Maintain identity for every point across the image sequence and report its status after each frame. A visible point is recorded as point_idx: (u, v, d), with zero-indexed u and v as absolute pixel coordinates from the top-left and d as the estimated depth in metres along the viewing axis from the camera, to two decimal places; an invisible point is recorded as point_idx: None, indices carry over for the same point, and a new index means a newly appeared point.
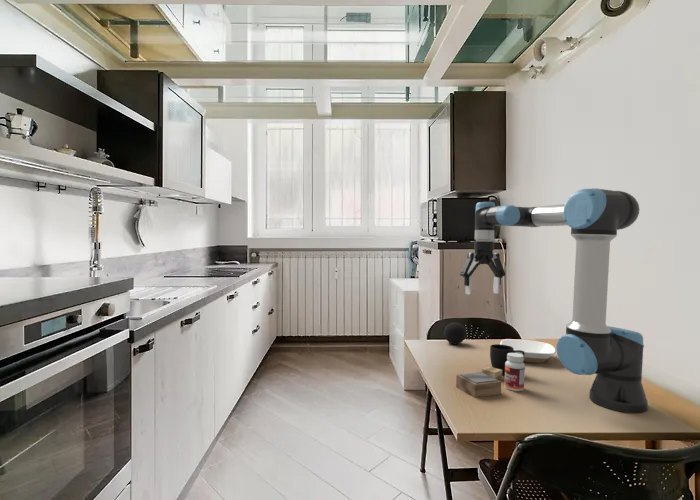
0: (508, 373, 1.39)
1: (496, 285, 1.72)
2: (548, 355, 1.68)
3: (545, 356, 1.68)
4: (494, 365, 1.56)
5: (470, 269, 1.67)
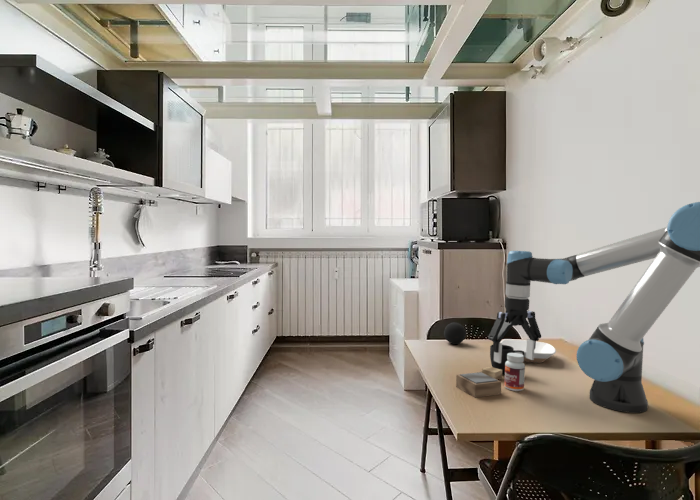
0: (508, 373, 1.39)
1: (530, 349, 1.43)
2: (548, 355, 1.68)
3: (545, 356, 1.68)
4: (494, 365, 1.56)
5: (500, 332, 1.38)
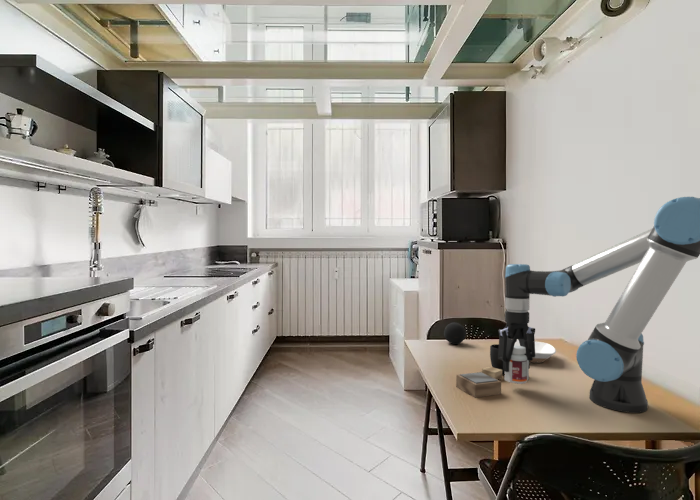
0: None
1: None
2: (548, 355, 1.68)
3: (545, 356, 1.68)
4: (494, 365, 1.56)
5: (507, 350, 1.39)
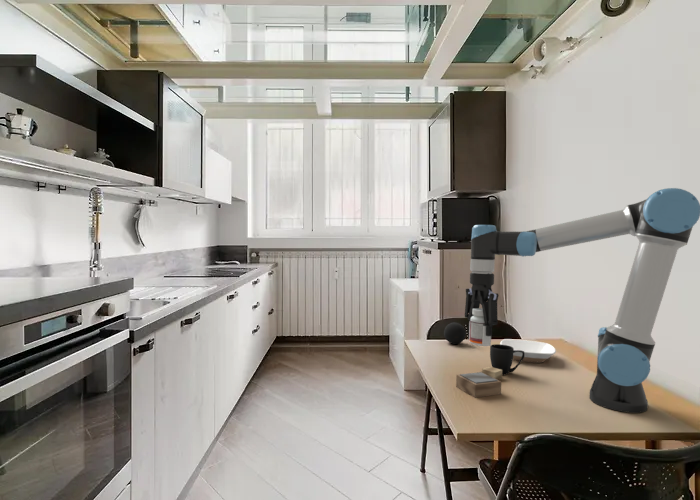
0: None
1: None
2: (548, 355, 1.68)
3: (545, 356, 1.68)
4: (494, 365, 1.56)
5: None
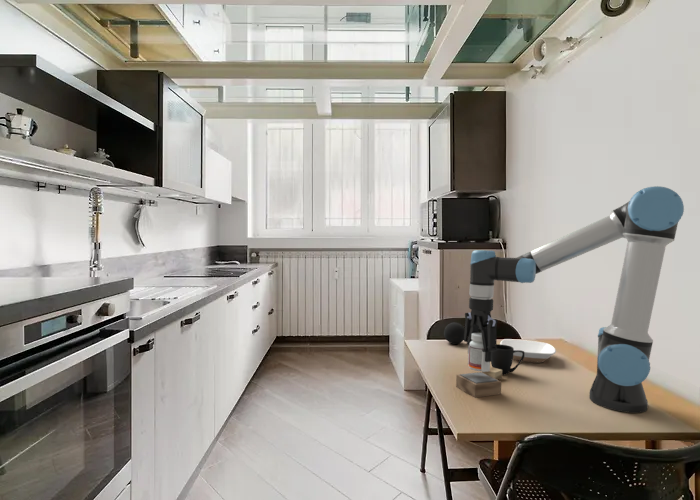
0: None
1: None
2: (548, 355, 1.68)
3: (545, 356, 1.68)
4: (494, 365, 1.56)
5: None
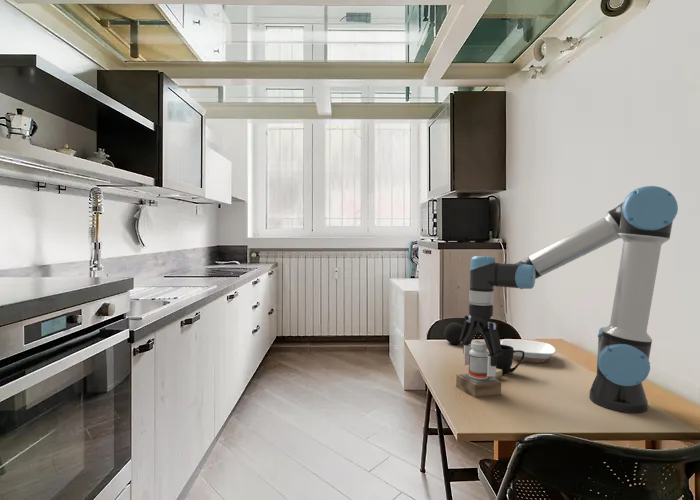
0: None
1: None
2: (548, 355, 1.68)
3: (545, 356, 1.68)
4: None
5: None
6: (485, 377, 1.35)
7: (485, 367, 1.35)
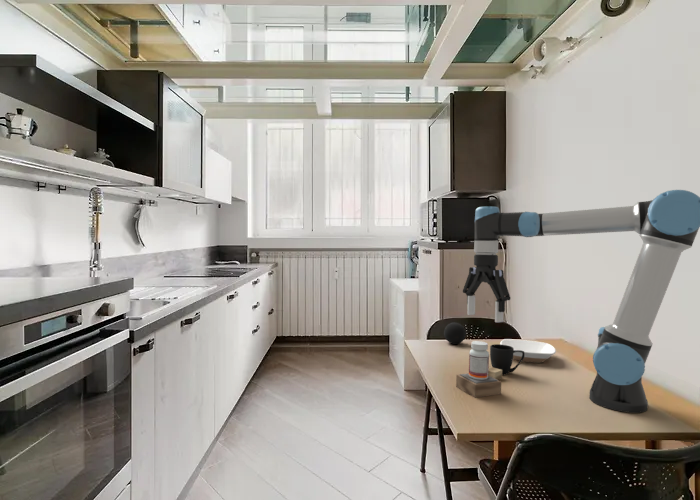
0: None
1: None
2: (548, 355, 1.68)
3: (545, 356, 1.68)
4: (494, 365, 1.56)
5: None
6: (485, 377, 1.35)
7: (485, 367, 1.35)
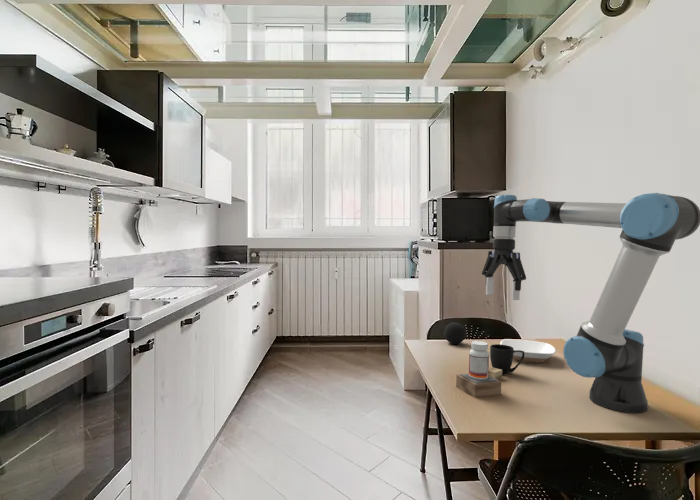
0: None
1: None
2: (548, 355, 1.68)
3: (545, 356, 1.68)
4: (494, 365, 1.56)
5: None
6: (485, 377, 1.35)
7: (485, 367, 1.35)
